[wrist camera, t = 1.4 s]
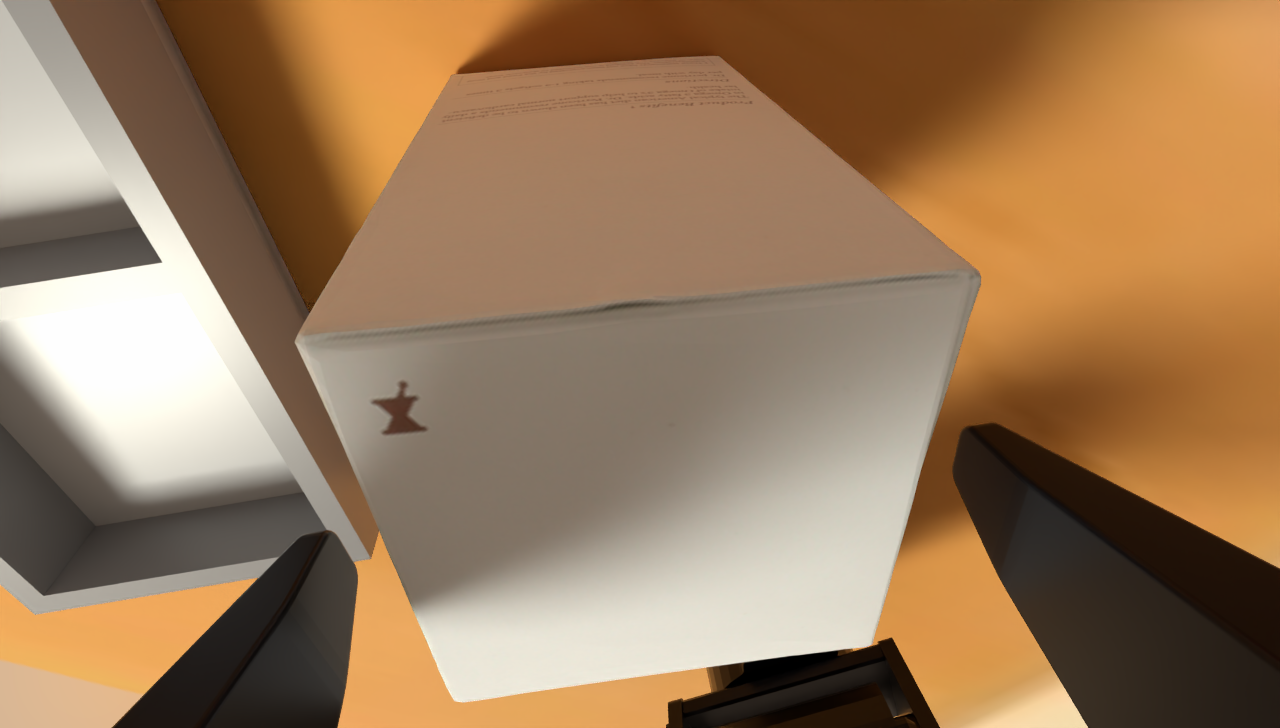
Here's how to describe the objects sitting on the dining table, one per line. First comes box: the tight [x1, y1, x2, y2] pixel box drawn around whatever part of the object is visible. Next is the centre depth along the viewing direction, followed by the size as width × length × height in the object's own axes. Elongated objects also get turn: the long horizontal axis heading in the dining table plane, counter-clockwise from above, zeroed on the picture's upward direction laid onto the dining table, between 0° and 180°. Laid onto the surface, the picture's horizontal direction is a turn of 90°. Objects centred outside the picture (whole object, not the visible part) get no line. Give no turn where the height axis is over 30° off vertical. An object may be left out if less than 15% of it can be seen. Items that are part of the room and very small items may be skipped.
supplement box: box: [295, 56, 981, 702], centre depth 14 cm, size 7×7×13 cm
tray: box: [0, 0, 379, 615], centre depth 16 cm, size 21×11×4 cm, turn 7°
